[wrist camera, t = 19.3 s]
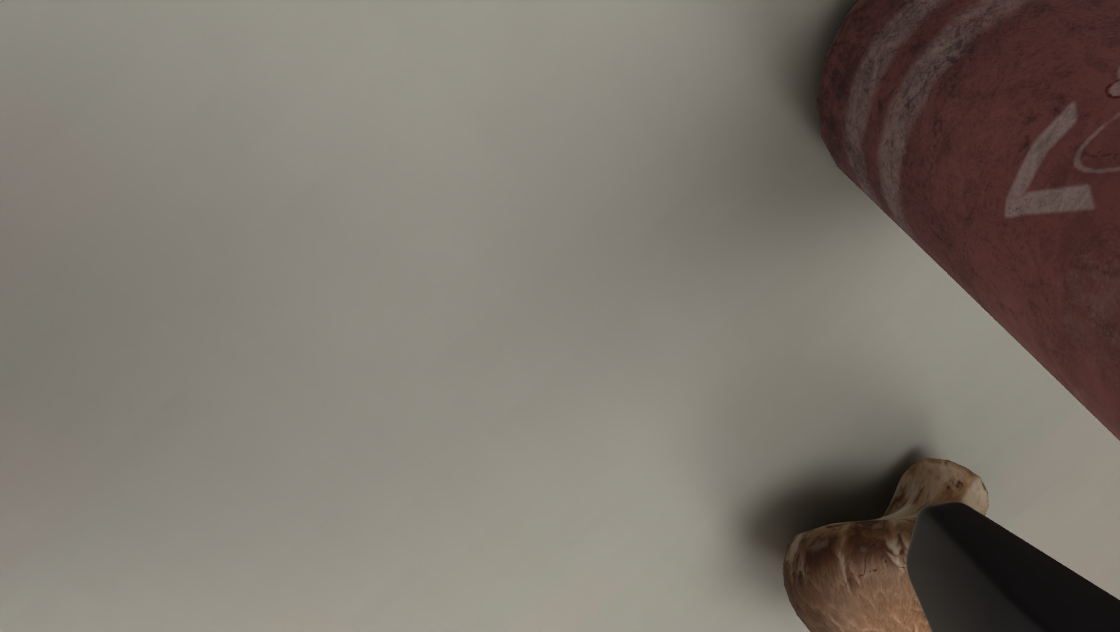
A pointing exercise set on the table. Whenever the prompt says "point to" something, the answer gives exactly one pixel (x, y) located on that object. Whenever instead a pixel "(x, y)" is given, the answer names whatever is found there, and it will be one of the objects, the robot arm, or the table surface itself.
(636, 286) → the table surface
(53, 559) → the table surface
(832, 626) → the mushroom
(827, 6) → the table surface
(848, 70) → the can
